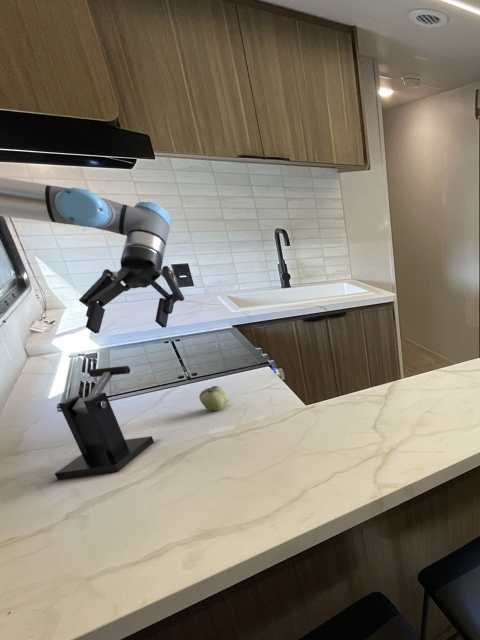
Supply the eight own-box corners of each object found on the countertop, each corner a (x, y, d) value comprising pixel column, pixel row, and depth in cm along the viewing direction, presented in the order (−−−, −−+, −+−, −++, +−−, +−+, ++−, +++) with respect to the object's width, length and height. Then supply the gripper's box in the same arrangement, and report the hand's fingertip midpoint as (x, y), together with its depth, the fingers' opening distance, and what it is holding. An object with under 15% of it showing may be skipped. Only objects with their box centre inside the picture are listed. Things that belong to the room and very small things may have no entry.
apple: (230, 400, 110) (224, 380, 108) (231, 409, 104) (224, 388, 102) (204, 406, 107) (197, 385, 105) (203, 416, 101) (196, 394, 99)
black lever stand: (102, 448, 87) (76, 390, 82) (154, 442, 89) (131, 384, 84) (57, 480, 76) (24, 414, 71) (118, 471, 78) (90, 406, 73)
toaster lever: (97, 374, 86) (90, 366, 84) (132, 371, 87) (125, 363, 86) (67, 418, 78) (58, 410, 76) (106, 413, 79) (98, 405, 77)
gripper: (206, 262, 106) (197, 330, 97) (97, 269, 101) (76, 341, 93) (190, 241, 99) (178, 312, 91) (72, 247, 95) (47, 323, 86)
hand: (126, 327), depth 92 cm, fingers open, 13 cm apart
